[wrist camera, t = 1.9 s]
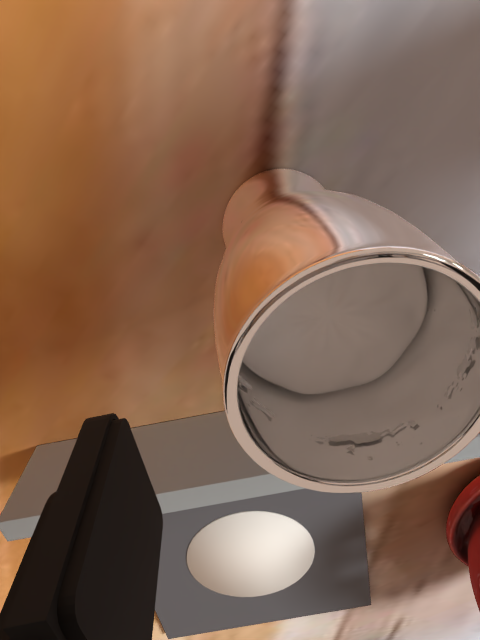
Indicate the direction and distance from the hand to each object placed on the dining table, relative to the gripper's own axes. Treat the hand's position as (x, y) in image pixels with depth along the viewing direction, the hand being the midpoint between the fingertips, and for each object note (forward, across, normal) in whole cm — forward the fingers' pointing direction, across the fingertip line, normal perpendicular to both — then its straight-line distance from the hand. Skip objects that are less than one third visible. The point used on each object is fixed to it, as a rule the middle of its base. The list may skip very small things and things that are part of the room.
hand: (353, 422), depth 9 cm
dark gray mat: (+16, +5, +25) cm, 30 cm away
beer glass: (+16, -1, 0) cm, 16 cm away
